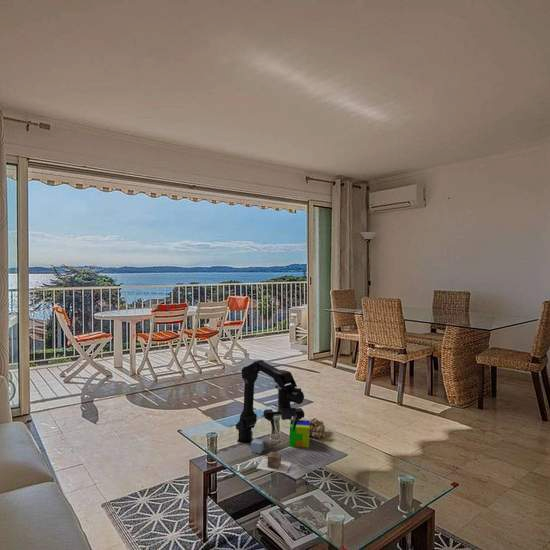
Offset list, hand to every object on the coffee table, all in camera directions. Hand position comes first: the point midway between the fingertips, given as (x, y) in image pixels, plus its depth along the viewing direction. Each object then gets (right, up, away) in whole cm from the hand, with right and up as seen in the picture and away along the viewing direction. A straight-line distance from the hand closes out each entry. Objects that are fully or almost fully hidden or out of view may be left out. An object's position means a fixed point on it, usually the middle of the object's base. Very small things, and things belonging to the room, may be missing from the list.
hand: (283, 431), depth 192 cm
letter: (-4, -13, -6) cm, 15 cm away
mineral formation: (+18, -13, +30) cm, 38 cm away
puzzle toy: (+9, -14, +19) cm, 25 cm away
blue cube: (-13, -13, +9) cm, 20 cm away
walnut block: (-4, -13, -6) cm, 15 cm away
